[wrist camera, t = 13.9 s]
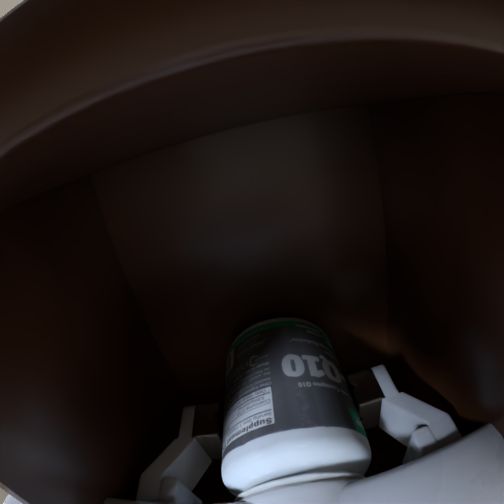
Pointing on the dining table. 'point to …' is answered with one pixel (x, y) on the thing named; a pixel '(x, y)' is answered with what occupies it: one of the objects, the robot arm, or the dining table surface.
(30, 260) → the chest
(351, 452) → the pill bottle
